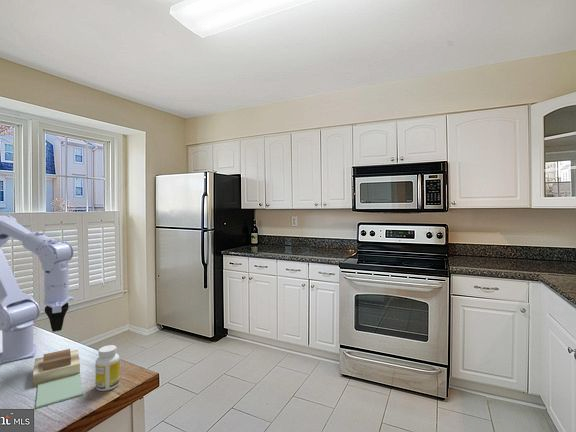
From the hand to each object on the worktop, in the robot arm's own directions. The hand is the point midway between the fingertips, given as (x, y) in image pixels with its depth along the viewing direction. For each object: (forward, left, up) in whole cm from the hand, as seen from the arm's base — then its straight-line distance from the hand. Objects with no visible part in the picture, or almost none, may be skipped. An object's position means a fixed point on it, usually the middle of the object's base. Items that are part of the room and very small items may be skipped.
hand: (56, 330), depth 93 cm
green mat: (+18, +1, -9) cm, 20 cm away
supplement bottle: (+22, +11, -10) cm, 26 cm away
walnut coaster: (+8, 0, -6) cm, 10 cm away
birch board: (+7, 0, -9) cm, 12 cm away
